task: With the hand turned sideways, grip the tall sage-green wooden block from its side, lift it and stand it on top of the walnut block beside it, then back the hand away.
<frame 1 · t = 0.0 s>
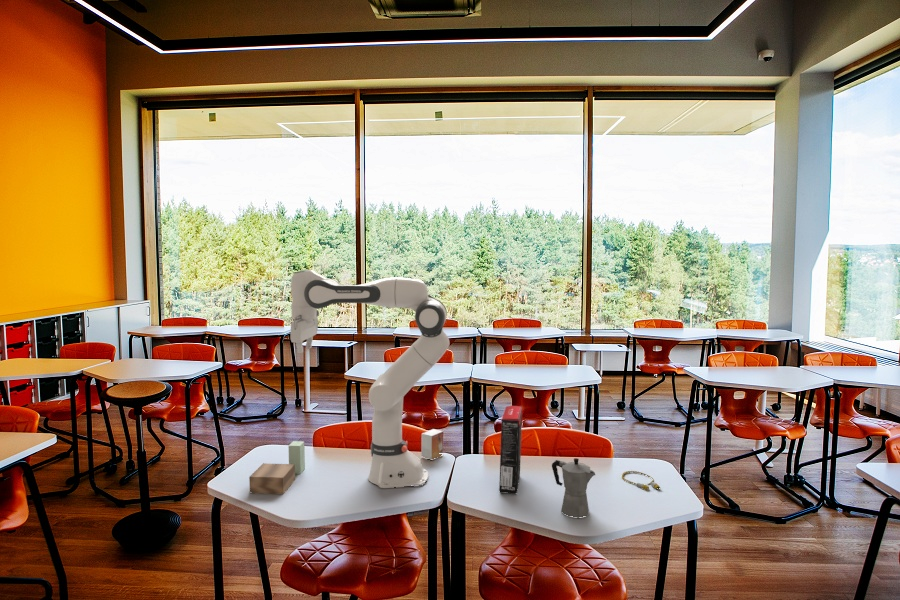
hand: (304, 350, 200), 48 cm above the table, tool pointing down, fingers open, 8 cm apart
walnut block: (273, 486, 195), on the table
extension cord: (639, 482, 200), on the table
graphics card box: (510, 485, 197), on the table
small box: (432, 457, 223), on the table
coffeepot: (571, 511, 177), on the table
sage block: (297, 471, 208), on the table
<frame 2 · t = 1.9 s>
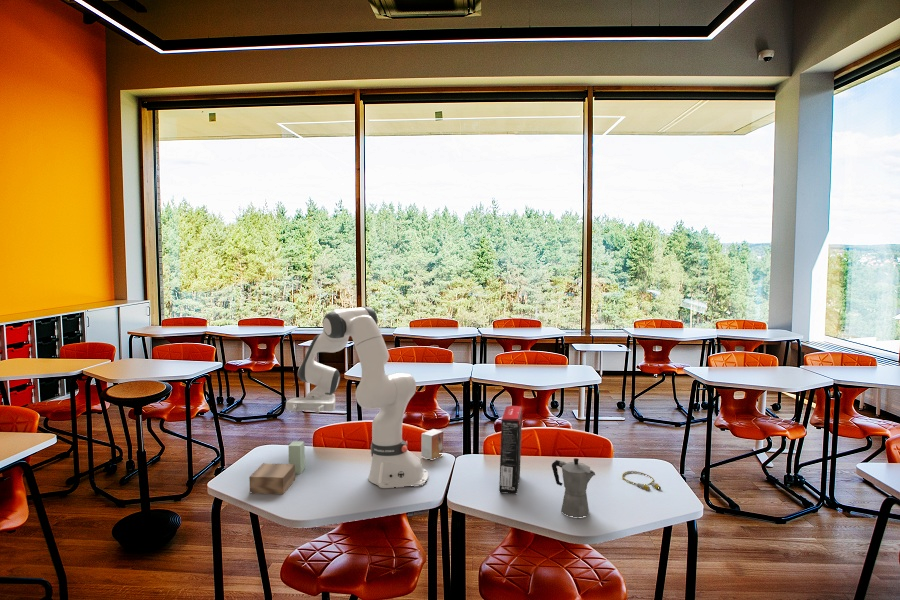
hand: (305, 410, 218), 21 cm above the table, tool horizontal, fingers open, 8 cm apart
nothing on the table moved.
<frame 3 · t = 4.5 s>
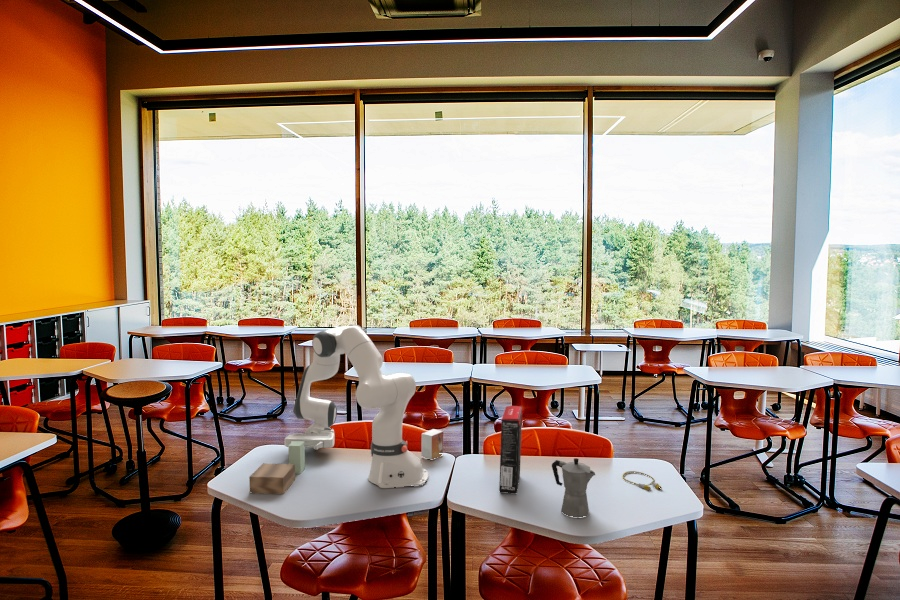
hand: (303, 447, 216), 6 cm above the table, tool horizontal, fingers open, 8 cm apart
nothing on the table moved.
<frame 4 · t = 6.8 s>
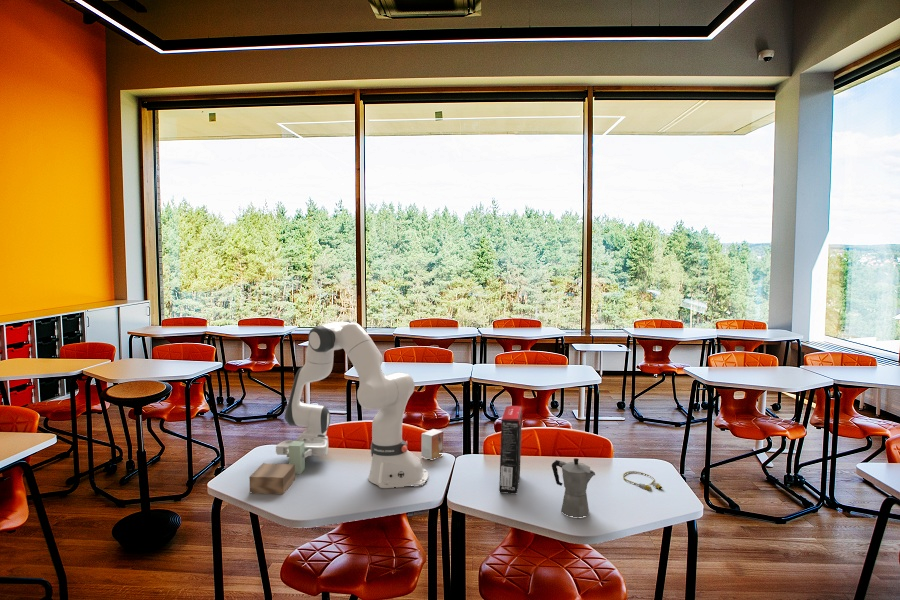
hand: (296, 455, 207), 7 cm above the table, tool horizontal, fingers closed on sage block, 4 cm apart
sage block: (297, 471, 208), on the table, touching gripper
everything else where it was.
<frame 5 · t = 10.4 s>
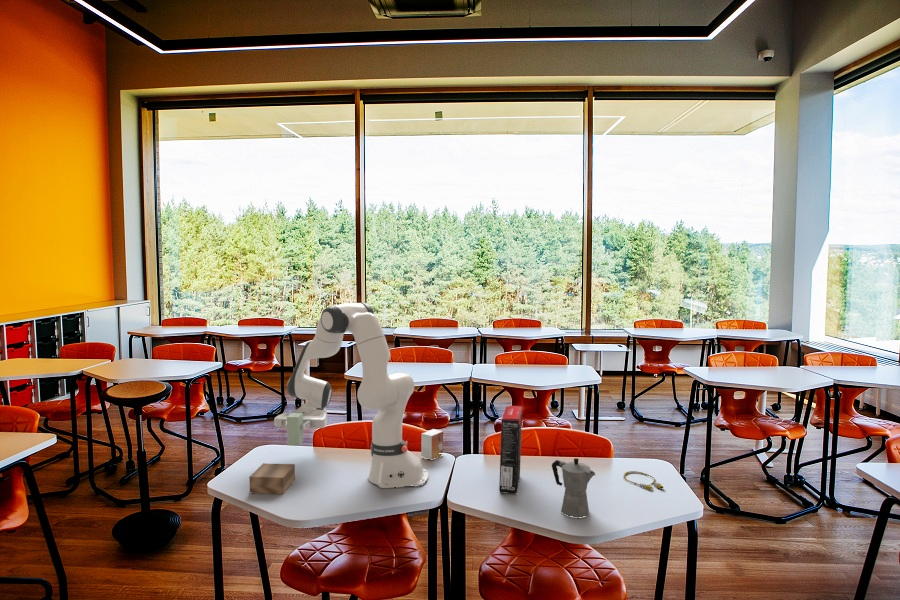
hand: (294, 427, 205), 18 cm above the table, tool horizontal, fingers closed on sage block, 4 cm apart
sage block: (295, 443, 207), point 11 cm above the table, touching gripper
everything else where it was.
when the fingers open (14 cm above the table, at t = 13.6 s): sage block drops 1 cm, resting on walnut block.
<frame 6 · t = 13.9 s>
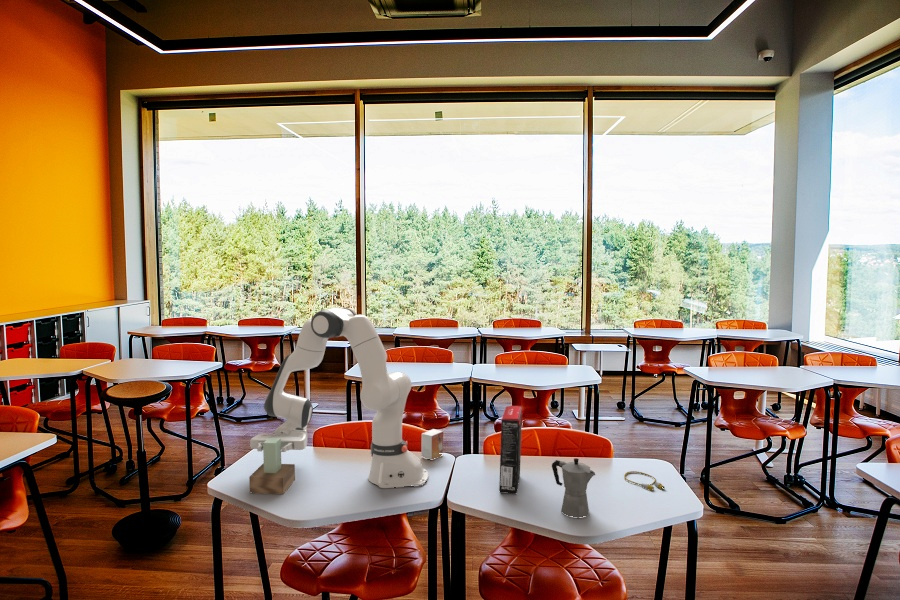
hand: (271, 449, 193), 14 cm above the table, tool horizontal, fingers open, 7 cm apart
sage block: (272, 470, 194), point 6 cm above the table, touching walnut block
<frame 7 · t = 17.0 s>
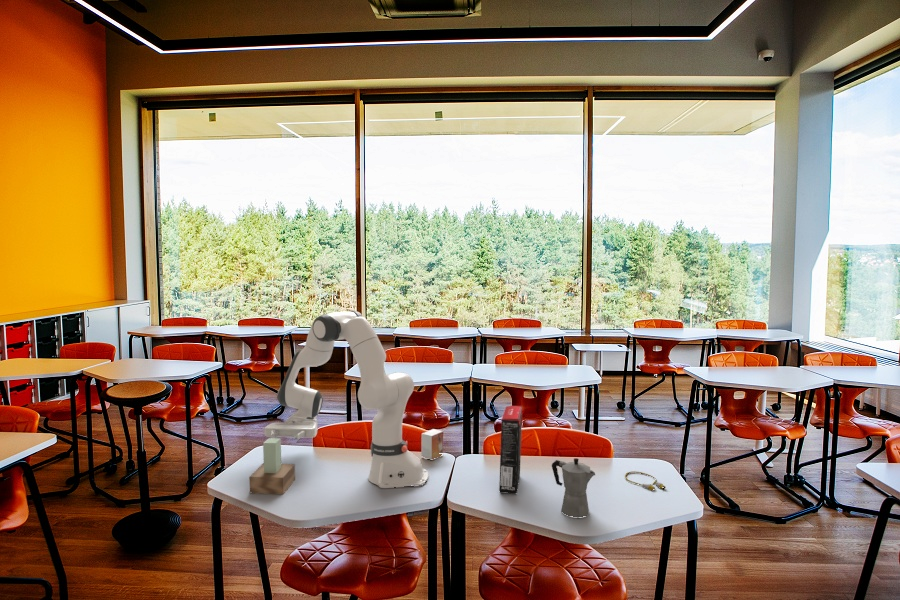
hand: (284, 437, 206), 14 cm above the table, tool horizontal, fingers open, 8 cm apart
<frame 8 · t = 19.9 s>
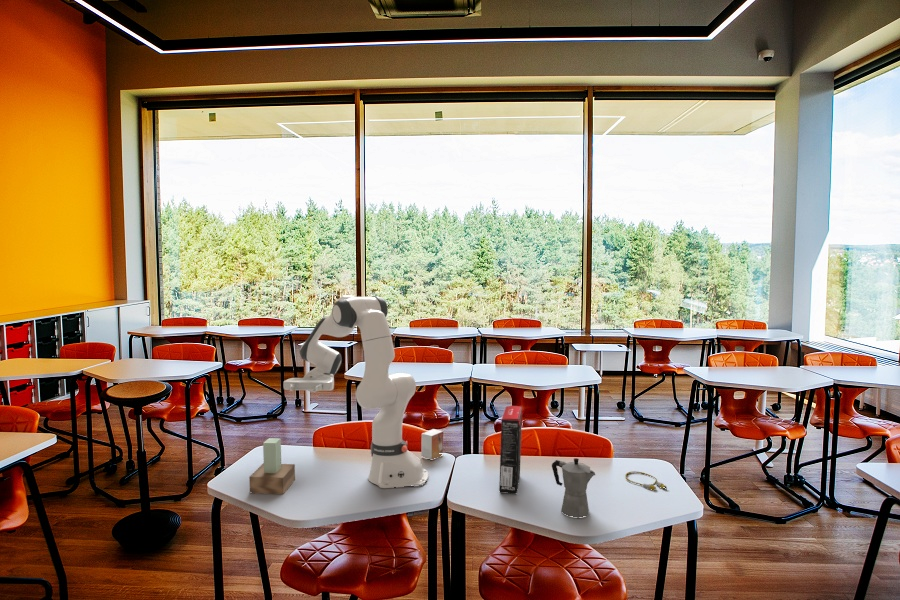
hand: (303, 389, 215), 30 cm above the table, tool horizontal, fingers open, 8 cm apart
at the end: sage block inside the target area on the walnut block (0.0 cm from its centre), point 6.0 cm above the walnut block's base; sage block tilted 0°; the gripper is holding nothing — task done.
